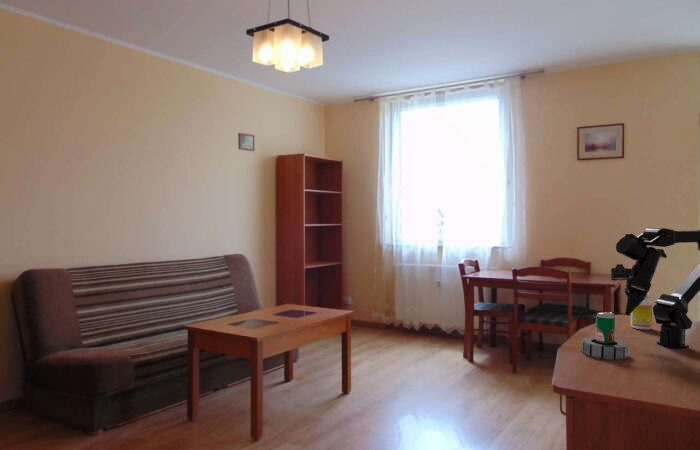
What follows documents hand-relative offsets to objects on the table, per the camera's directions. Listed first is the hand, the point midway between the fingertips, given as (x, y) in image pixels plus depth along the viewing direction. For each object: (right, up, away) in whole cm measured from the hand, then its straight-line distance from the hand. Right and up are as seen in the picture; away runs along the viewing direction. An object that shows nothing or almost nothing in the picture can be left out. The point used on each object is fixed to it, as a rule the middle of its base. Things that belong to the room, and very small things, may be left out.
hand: (627, 313), depth 159 cm
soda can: (-10, -11, -6) cm, 16 cm away
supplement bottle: (+20, -11, +29) cm, 37 cm away
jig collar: (-10, -11, -6) cm, 16 cm away
